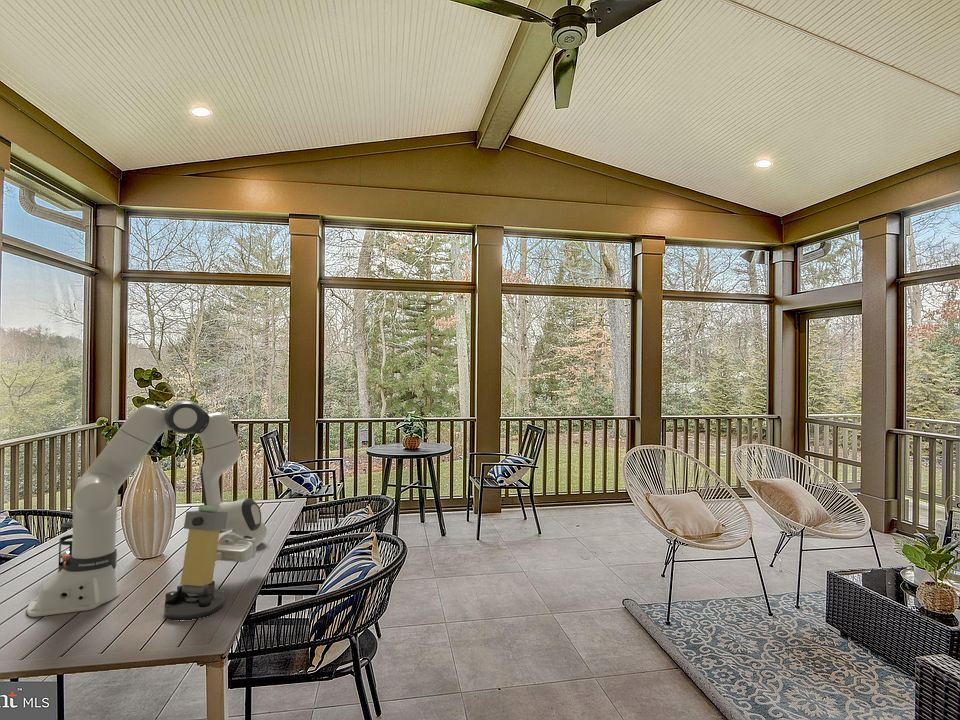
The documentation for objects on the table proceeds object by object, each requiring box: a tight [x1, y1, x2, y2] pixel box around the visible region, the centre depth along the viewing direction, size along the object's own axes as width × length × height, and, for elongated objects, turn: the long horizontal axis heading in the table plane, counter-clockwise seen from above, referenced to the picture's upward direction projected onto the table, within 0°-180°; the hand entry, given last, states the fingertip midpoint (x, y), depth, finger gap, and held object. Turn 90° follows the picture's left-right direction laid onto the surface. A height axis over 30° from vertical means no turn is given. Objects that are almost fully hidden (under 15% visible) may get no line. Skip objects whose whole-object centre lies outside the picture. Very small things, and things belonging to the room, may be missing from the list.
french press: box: [57, 505, 73, 573], centre depth 186 cm, size 12×9×23 cm
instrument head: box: [179, 504, 228, 595], centre depth 161 cm, size 8×10×26 cm
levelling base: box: [163, 580, 225, 622], centre depth 159 cm, size 16×16×7 cm
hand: (205, 560), depth 163 cm, fingers closed, pressing on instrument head
